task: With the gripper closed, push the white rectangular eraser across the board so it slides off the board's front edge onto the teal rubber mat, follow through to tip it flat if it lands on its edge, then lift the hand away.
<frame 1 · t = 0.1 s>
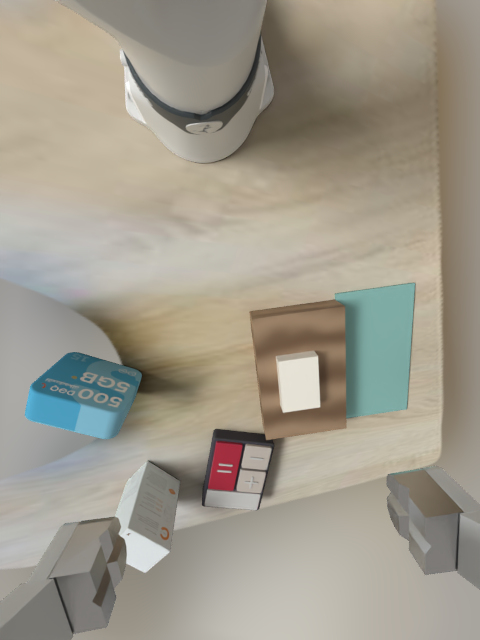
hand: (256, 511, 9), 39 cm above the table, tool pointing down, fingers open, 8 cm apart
white rectangular eraser: (298, 381, 46), point 5 cm above the table, touching board
mat: (373, 355, 52), on the table
small box: (154, 479, 57), on the table
calculator: (236, 461, 58), on the table
data package: (105, 371, 49), on the table
board: (296, 366, 51), on the table
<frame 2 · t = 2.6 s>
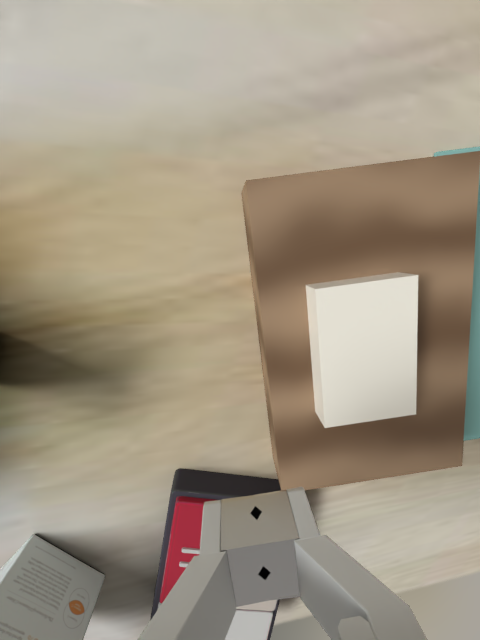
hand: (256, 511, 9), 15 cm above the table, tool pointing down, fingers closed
white rectangular eraser: (361, 350, 19), point 5 cm above the table, touching board
small box: (52, 572, 28), on the table
calculator: (223, 535, 29), on the table
board: (345, 327, 24), on the table
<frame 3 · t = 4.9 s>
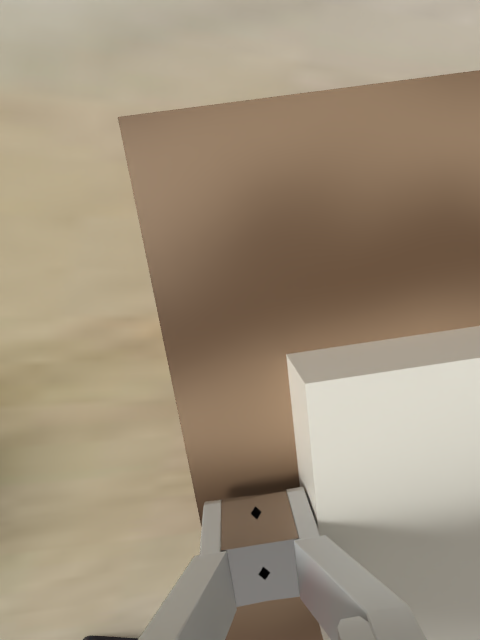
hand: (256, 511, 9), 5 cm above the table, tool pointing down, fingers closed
white rectangular eraser: (409, 495, 9), point 5 cm above the table, touching board, gripper
board: (356, 406, 14), on the table
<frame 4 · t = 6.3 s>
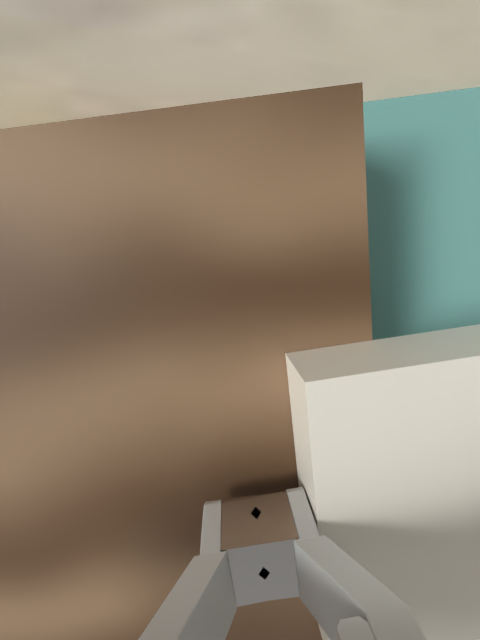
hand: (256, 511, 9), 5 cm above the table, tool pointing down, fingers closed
white rectangular eraser: (408, 493, 9), point 5 cm above the table, touching gripper
mat: (471, 386, 14), on the table
board: (180, 431, 13), on the table
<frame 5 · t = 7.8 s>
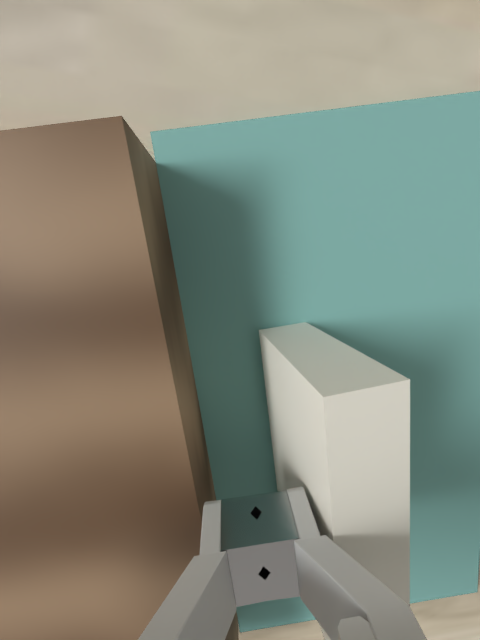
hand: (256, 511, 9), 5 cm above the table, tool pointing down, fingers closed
white rectangular eraser: (321, 471, 10), point 3 cm above the table, tilted 96°, touching gripper, mat
mat: (346, 407, 14), on the table
board: (48, 453, 13), on the table
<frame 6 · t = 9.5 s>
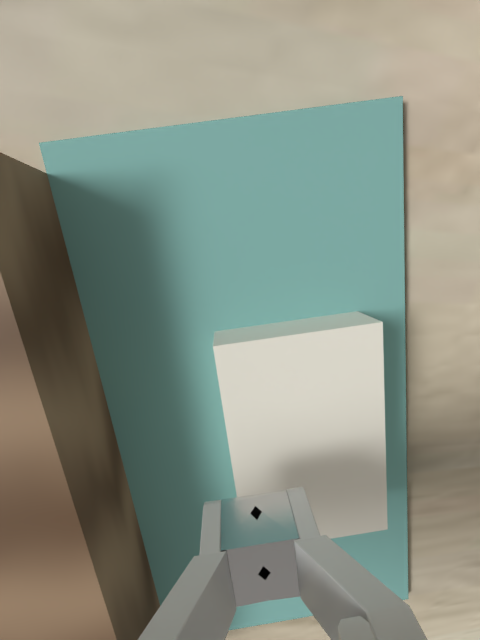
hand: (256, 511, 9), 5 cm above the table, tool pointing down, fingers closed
white rectangular eraser: (301, 431, 12), point 1 cm above the table, tilted 180°, touching mat
mat: (262, 416, 13), on the table
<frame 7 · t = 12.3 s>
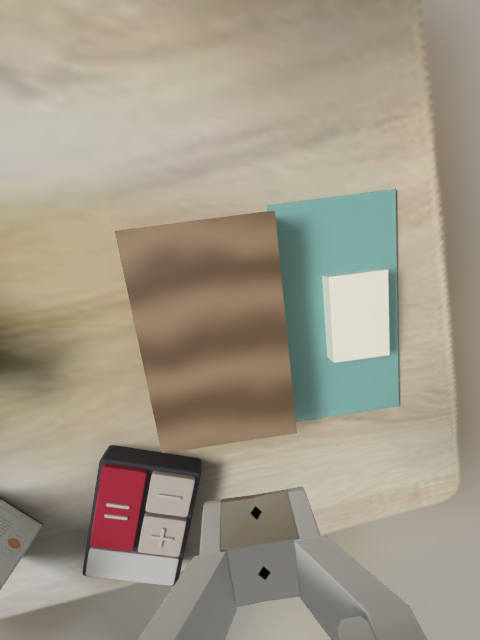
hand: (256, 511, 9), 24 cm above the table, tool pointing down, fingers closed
white rectangular eraser: (355, 315, 31), point 1 cm above the table, tilted 180°, touching mat
mat: (337, 313, 32), on the table
small box: (1, 522, 36), on the table
calculator: (147, 501, 37), on the table
board: (215, 330, 32), on the table
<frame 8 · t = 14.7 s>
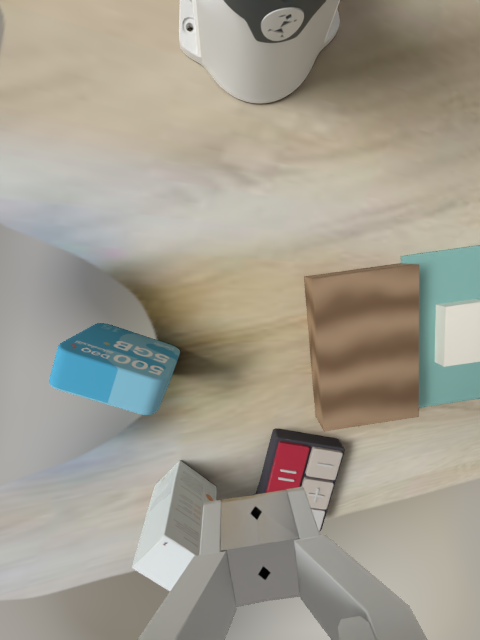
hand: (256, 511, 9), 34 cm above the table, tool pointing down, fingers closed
white rectangular eraser: (459, 332, 44), point 1 cm above the table, tilted 180°, touching mat
mat: (443, 331, 45), on the table
small box: (186, 485, 48), on the table
calculator: (294, 470, 49), on the table
data package: (137, 348, 43), on the table
board: (356, 343, 44), on the table
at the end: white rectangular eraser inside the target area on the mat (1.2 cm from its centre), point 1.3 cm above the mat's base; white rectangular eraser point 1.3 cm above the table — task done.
